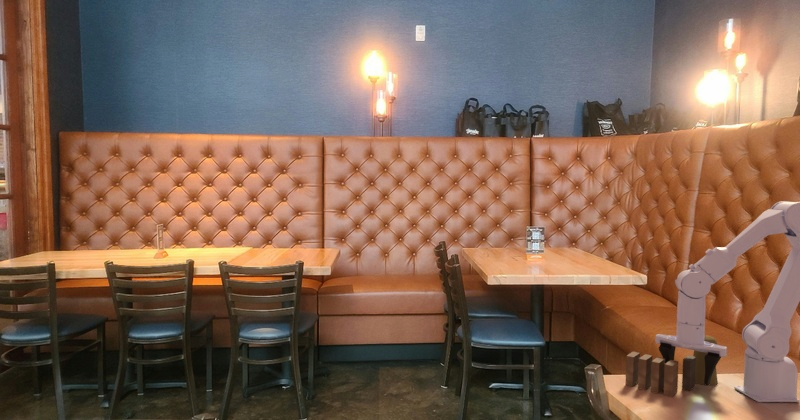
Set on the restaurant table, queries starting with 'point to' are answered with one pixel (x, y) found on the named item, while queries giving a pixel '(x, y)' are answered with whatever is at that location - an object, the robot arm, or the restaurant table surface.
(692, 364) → the tile
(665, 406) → the restaurant table surface
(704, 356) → the robot arm
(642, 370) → the tile
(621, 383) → the restaurant table surface
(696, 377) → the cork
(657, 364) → the tile
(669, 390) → the tile
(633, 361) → the tile
